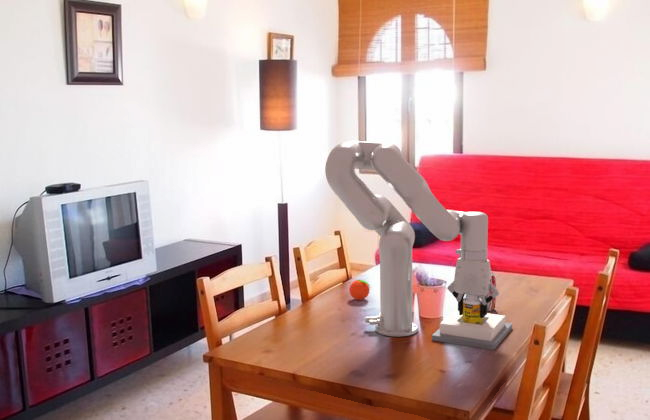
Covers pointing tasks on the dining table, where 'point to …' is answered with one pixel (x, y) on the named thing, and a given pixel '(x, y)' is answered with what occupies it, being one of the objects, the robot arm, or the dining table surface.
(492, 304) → the soda can
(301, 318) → the dining table surface
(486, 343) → the socket board
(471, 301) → the supplement bottle
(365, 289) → the clementine
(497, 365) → the dining table surface
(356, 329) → the dining table surface
